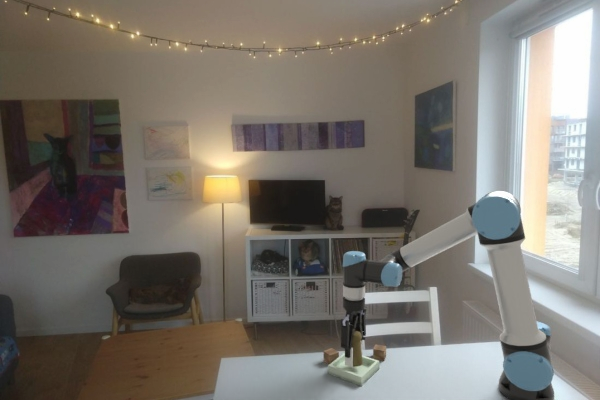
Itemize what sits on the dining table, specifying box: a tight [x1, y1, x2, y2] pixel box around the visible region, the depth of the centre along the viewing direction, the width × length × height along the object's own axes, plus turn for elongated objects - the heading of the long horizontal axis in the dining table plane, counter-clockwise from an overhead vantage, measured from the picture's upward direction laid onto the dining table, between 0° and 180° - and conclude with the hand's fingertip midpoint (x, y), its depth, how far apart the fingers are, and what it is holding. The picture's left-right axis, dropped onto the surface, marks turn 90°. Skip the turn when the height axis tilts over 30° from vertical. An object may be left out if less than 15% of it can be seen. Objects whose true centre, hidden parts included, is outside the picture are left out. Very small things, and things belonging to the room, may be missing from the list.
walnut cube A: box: [372, 344, 387, 362], centre depth 150 cm, size 4×4×4 cm
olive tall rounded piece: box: [352, 329, 363, 367], centre depth 140 cm, size 6×6×11 cm
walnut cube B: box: [323, 347, 340, 366], centre depth 147 cm, size 4×4×4 cm
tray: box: [327, 352, 380, 387], centre depth 141 cm, size 13×13×3 cm
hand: (353, 361), depth 140 cm, fingers closed on olive tall rounded piece, 6 cm apart
